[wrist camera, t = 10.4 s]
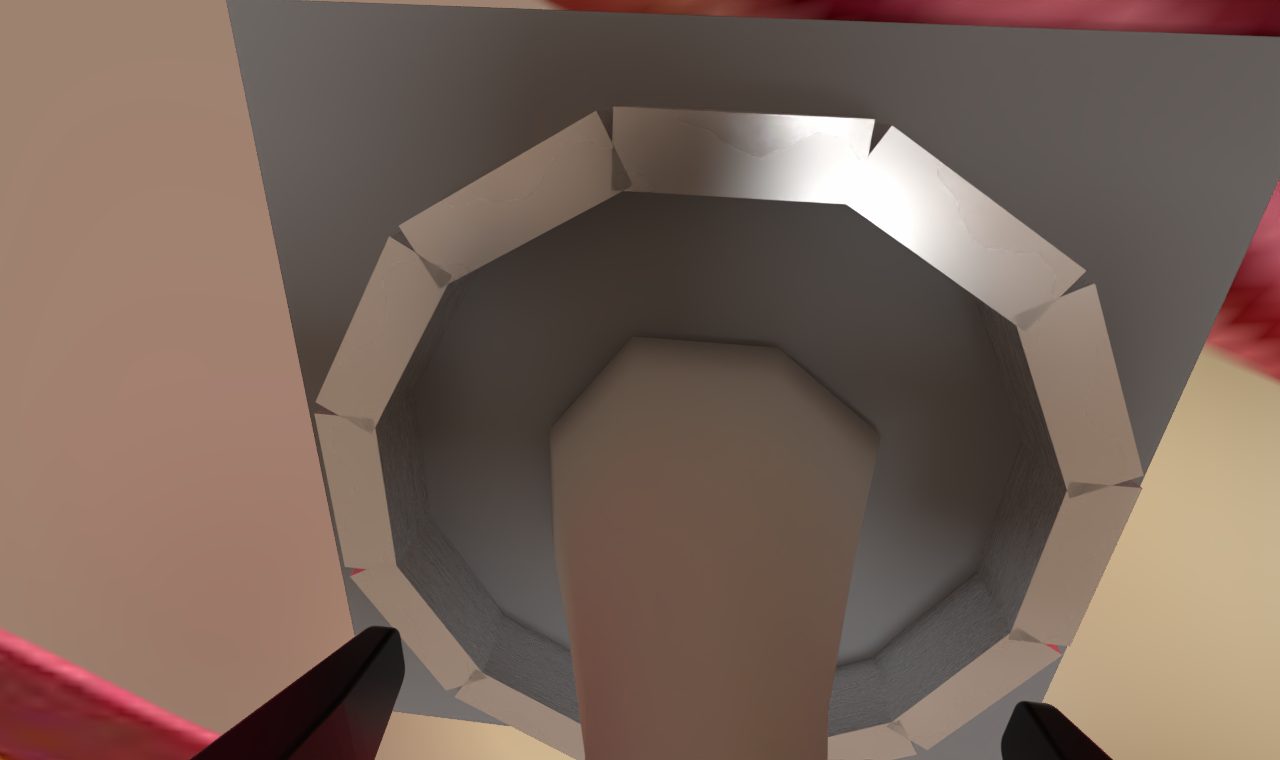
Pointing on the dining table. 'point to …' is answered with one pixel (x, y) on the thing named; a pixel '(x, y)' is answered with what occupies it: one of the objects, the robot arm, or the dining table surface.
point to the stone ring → (774, 170)
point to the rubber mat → (752, 251)
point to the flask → (706, 550)
